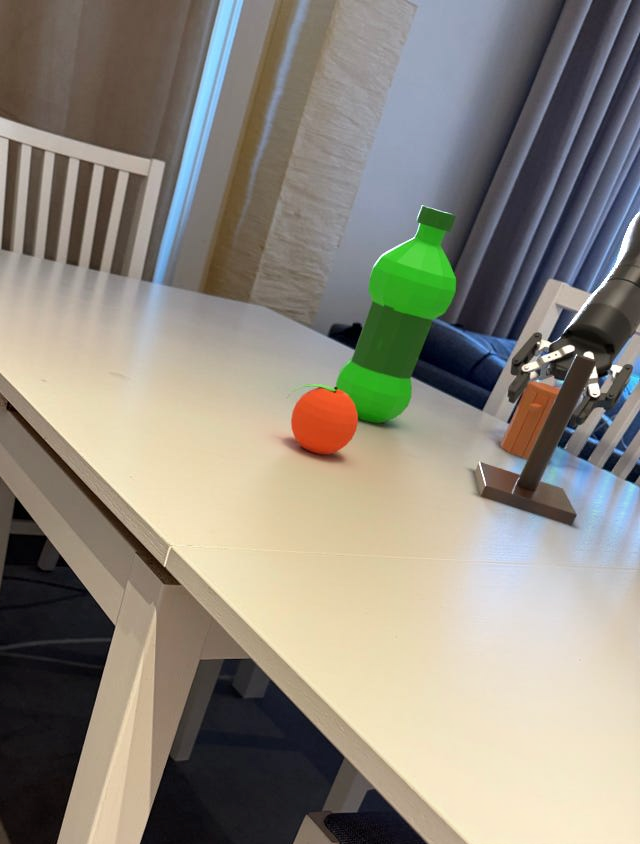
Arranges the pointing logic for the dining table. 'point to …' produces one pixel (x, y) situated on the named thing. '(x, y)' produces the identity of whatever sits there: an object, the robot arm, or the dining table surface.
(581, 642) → the dining table surface
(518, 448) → the orange letterbox
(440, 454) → the dining table surface
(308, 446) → the clementine
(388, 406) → the plastic bottle
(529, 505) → the stand
